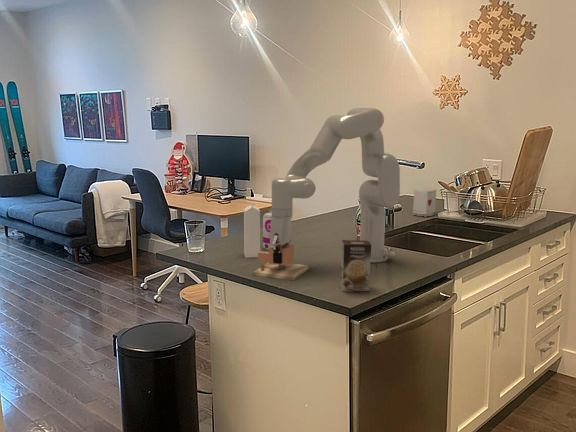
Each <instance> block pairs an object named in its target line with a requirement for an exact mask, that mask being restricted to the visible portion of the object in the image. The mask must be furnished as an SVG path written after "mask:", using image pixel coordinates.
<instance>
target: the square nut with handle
mask: <svg viewBox="0 0 576 432" xmlns="http://www.w3.org/2000/svg"><path fill="white" fill-rule="evenodd" d="M277 247H278V248H279V246H277ZM294 251H295V245H293V244H290V245H286V244H284V245H282V249H281V253H282V263H281V264H278V263H273V249H272V246H271V247H269V250H268V251H261V250H260V252H258V257H257V261H259V262H260V261H261V262H267V263H268V262H269V264H276V265H284V266H287V265H289V264H290V263H291V264H293V262H294V259H295V257H294V256H295V255H294V254H295V252H294Z"/></svg>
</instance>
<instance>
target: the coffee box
mask: <svg viewBox="0 0 576 432" xmlns="http://www.w3.org/2000/svg"><path fill="white" fill-rule="evenodd" d="M340 249H341V253H340V278H339V281H340V282H339V286H340V289H341V291H342V292H354V291H369V292H370V281H371V280H370V278H371V263H372V262H371V243H370V242H368V241H363V240H360V239H359V240H356V239H352V240H351V239H342V240H341V248H340Z"/></svg>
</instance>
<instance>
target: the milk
mask: <svg viewBox="0 0 576 432" xmlns="http://www.w3.org/2000/svg"><path fill="white" fill-rule="evenodd" d="M243 234H244V235H243V240H244V241H243V243H244V244H243V248H244V249H243V251H244V253H243V255H244V257H245V258H246V259H247V258H249V259H250V258H258V252H260V251H261V210H260V209H259V208H258V207H257V206H254V203H253V201H252V200H251V201H250V205H248V206H247V207H244V208H243Z"/></svg>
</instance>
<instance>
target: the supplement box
mask: <svg viewBox="0 0 576 432" xmlns="http://www.w3.org/2000/svg"><path fill="white" fill-rule="evenodd" d="M413 190H414V191H413V204H412V207H413V208H412V214H413V213H417V214H431V213H434V212H435V213H436V203H437V201H436V200H437V189H434V188H433V189H432V188H426V187H421V188H415V189H413Z"/></svg>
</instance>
